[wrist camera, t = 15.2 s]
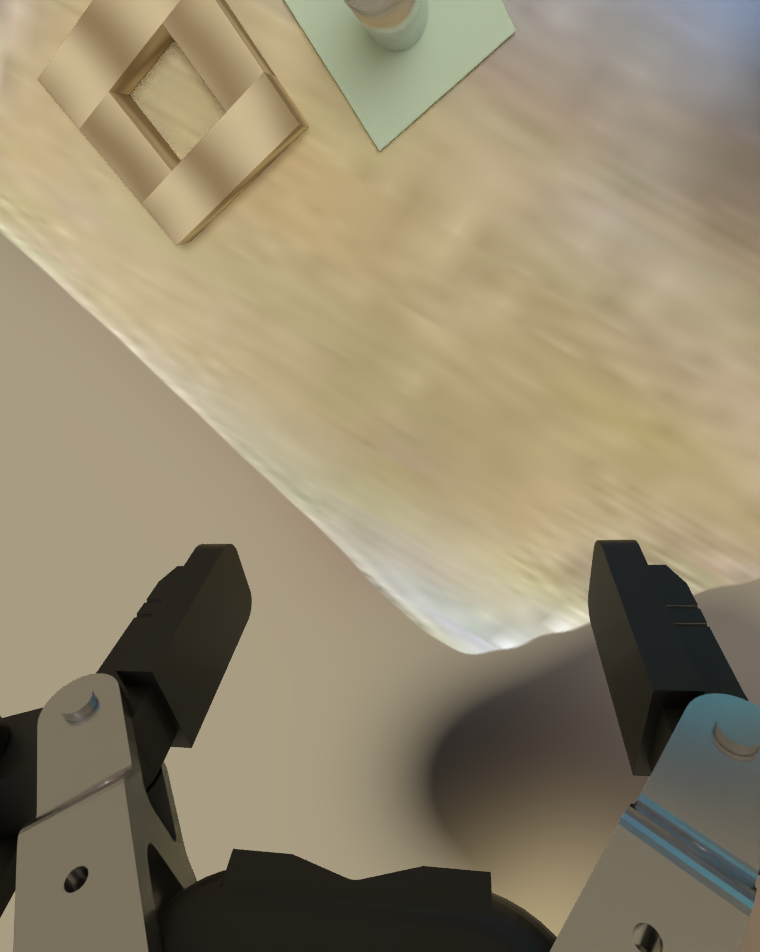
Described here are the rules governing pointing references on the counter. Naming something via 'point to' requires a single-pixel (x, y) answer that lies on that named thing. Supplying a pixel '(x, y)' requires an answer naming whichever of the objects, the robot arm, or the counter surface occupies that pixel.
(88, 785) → the robot arm
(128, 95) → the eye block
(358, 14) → the peg
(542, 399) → the counter surface
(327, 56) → the mat
